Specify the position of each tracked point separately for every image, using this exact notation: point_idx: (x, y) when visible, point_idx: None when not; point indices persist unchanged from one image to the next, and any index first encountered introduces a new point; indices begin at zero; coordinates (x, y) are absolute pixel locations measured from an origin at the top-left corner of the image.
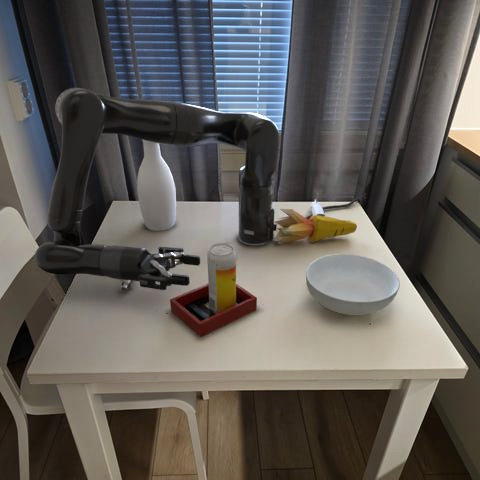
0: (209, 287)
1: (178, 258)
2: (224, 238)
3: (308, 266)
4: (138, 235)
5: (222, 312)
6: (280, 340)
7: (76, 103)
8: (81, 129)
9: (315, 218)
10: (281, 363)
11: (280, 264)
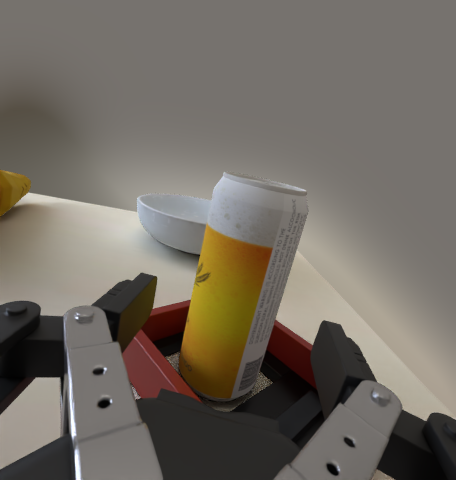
0: (257, 330)
1: (21, 385)
2: None
3: (171, 215)
4: None
5: (310, 346)
6: (305, 310)
7: None
8: None
9: None
10: (357, 320)
11: (50, 260)
